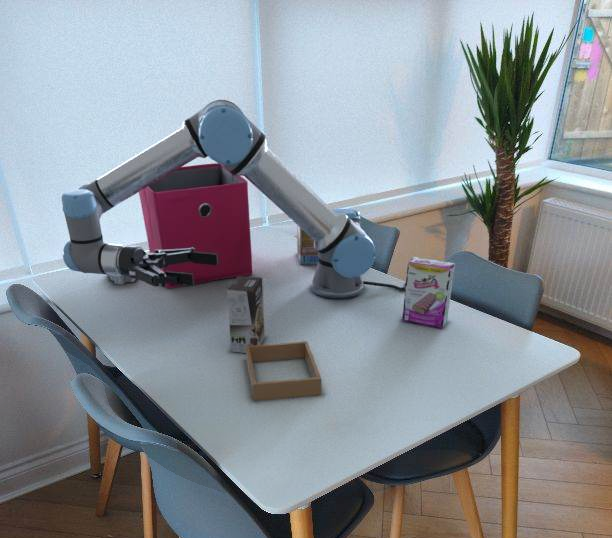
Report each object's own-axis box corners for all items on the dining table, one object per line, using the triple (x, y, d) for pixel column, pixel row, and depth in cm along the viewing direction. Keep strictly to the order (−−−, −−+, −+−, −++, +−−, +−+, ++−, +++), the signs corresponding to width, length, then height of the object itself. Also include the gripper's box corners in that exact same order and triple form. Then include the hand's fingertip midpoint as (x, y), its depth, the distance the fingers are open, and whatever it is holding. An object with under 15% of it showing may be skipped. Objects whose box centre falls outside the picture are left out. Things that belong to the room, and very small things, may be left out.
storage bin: (165, 290, 178) (152, 191, 163) (146, 259, 200) (133, 170, 185) (255, 276, 188) (250, 181, 172) (227, 248, 210) (221, 162, 194)
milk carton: (297, 254, 205) (296, 196, 195) (328, 252, 206) (329, 195, 196) (300, 264, 196) (300, 205, 186) (332, 263, 197) (333, 204, 187)
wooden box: (307, 355, 144) (307, 341, 142) (321, 394, 130) (321, 378, 127) (246, 361, 142) (245, 345, 140) (253, 400, 128) (252, 384, 125)
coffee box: (256, 354, 145) (252, 291, 136) (230, 352, 146) (225, 289, 137) (265, 337, 152) (263, 276, 144) (241, 335, 153) (237, 274, 145)
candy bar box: (401, 321, 160) (406, 262, 151) (406, 314, 164) (412, 256, 155) (443, 329, 156) (451, 268, 147) (447, 322, 160) (455, 262, 151)
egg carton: (139, 281, 184) (137, 268, 182) (114, 286, 181) (112, 273, 179) (128, 270, 192) (126, 258, 190) (105, 274, 189) (102, 262, 187)
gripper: (152, 258, 159) (227, 266, 154) (99, 295, 139) (183, 305, 133) (148, 230, 155) (225, 237, 149) (93, 263, 135) (179, 272, 129)
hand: (205, 269), depth 141 cm, fingers open, 13 cm apart
